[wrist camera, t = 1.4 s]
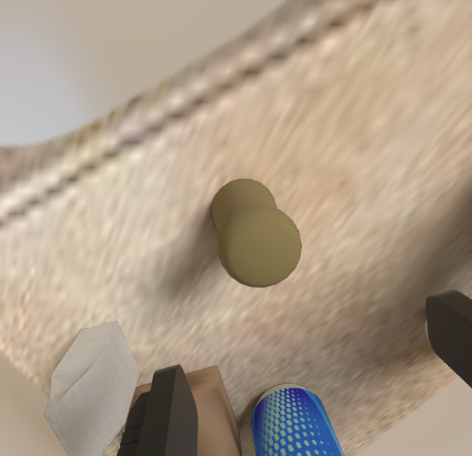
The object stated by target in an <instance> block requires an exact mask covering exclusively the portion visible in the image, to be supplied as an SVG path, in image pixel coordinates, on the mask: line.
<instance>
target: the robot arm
mask: <svg viewBox="0 0 472 456" xmlns="http://www.w3.org/2000/svg"><path fill="white" fill-rule="evenodd" d="M426 311H427V329H428V338H429V342H430V344H431V346H432V348H433V350H434V351H435V353H436V354H437V355H438V356H439V357H440V358H441V359H442V360H443V361H444V362H445V363H446V364H447V365H448V366H449V367H450V368H451V369H452V370H453V371H454V372H455V373H456V374H457V375H459V376H460V377H461V378H462V379H463V380H464V381H465V382H466V383H467V384H468V385H469V386H470V387H471V388H472V299H470V298H468V297H467V296H465V295H463V294H462V293H460V292H458V291H456V290H450V291H446V292H443V293H439V294H435V295H432V296H429V297H428V298H427V299H426ZM197 440H198V413H197V407H196V403H195V399H194V397H193V394H192V392H191V389H190V387H189V384H188V381H187V379H186V376H185V374H184V371H183V369H182V367H181V365H179V364H178V365H175V366H171V367H167V368H164V369H160V370H157V371H155V373H154V376H153V380H152V385H151V389H150V391H148V392H144V393H141V394H140V396H139V397H138V399H137V400H136V402H135V403H134V405H133V406H132V408H131V409H130V412H129V415H128V419H127V422H126V426H125V432H124V433H123V436H122V439H121V443H120V449H119V450H118V453H117V456H197Z"/></svg>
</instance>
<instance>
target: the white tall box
mask: <svg viewBox="0 0 472 456" xmlns="http://www.w3.org/2000/svg"><path fill="white" fill-rule="evenodd" d="M139 375H140V370H139V368H138V366H137V364H136V361H135V359H134V357H133V355H132V352H131V350H130V348H129V345H128V343H127V341H126V339H125V336H124V334H123V332H122V330H121V327H120V325H119V323H118V321H117V320H116V321H113V322H109V323H105V324H101V325H98V326H94V327H90V328H86V329H82V330H81V332H80V333H79V335H78V336H77V338H76V339H75V341H74V342H73V344H72V345H71V347H70V348H69V349H68V351H67V352H66V354H65V355H64V357H63V358H62V360H61V361H60V363H59V364H58V366H57V367H56V369H55V370H54V372H53V373H52V376H51V387H50V396H49V400H48V405H47V408H46V410H45V413H44V416H45V418H46V419H47V421H48V422H49V424H50V426H51V427H52V429H53V431H54V432H55V434H56V436H57V437H58V439H59V441H60V442H61V444H62V446H63V447H64V449H65V450H66V452H67V454H68V456H102V454H103V453H104V451H105V450H106V449H107V447H108V446H109V445H110V443H111V442H112V440H113V439H114V438H115V436H116V435H117V433H118V432H119V431H120V429H121V428H122V426H123V425H124V424H125V422H126V418H127V415H128V411H129V408H130V405H131V401H132V398H133V395H134V391H135V388H136V385H137V381H138V378H139Z"/></svg>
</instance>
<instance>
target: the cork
mask: <svg viewBox="0 0 472 456" xmlns="http://www.w3.org/2000/svg"><path fill="white" fill-rule="evenodd" d="M211 215H212V219H213V222H214V225H215V227H216V229H217V230H218V232H219V234H220V236H219V247H218V253H219V256H220V260H221V263H222V265H223V267H224V268H225V269H226V271H227V272H228V274H229V275H230V276H231V277H232V278H233V279H235V280H236V281H238V282H239V283H241V284H243V285H247V286H250V287H268V286H272V285H275V284H277V283H279V282H281V281H282V280H284V279H286V278H287V277H288V276H289V275H290V274H291V273H292V272H293V271H294V269H295V268H296V266H297V264H298V262H299V260H300V256H301V248H302V244H301V239H300V234H299V230H298V229H297V227H296V225H295V224H294V222H293V220H292V219H291V218H289V217H288V216H287V215H286V214H285V213H283V212H282V211H281V210H279V209H277V206H276V203H275V200H274V197H273V196H272V194H271V193H270V191H269V189H268V188H266V187H265V186H264V185H263V184H262V183H260V182H257V181H255V180H252V179H238V180H234V181H231V182H229V183H228V184H226V185H225V186H223V187H222V188H221V189H220V190H219V191H218V193H217V194H216V195H215V198H214V200H213V203H212V212H211Z"/></svg>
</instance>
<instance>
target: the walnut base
mask: <svg viewBox="0 0 472 456" xmlns="http://www.w3.org/2000/svg"><path fill="white" fill-rule="evenodd" d="M185 376H186V379H187V381H188V384H189V387H190V389H191V392H192V394H193V397H194V399H195V403H196V407H197V413H198V440H197V456H242V451H241V441H240V431H239V428H238V425H237V422H236V419H235V416H234V413H233V410H232V407H231V404H230V402H229V399H228V396H227V393H226V390H225V387H224V384H223V381H222V378H221V375H220V372H219V370H218V367H217V366H213V367H209V368H206V369H202V370H198V371H194V372H191V373H187V374H185ZM151 385H152V383H150V384H147V385H143V386H139V387H136V388H135V391H134V395H133V398H132V401H131V405H130V408H129V411H128V415H129V412H130V409H131V408H132V406H133V405H134V403H135V402H136V400H137V399H138V397H139V396H140V394H141V393H144V392H148V391H150V389H151ZM128 415H127V418H126V422H127V419H128ZM126 422H125V424H124V425H123V426H122V428H121V431H122V433H124V432H125V426H126Z"/></svg>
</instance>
